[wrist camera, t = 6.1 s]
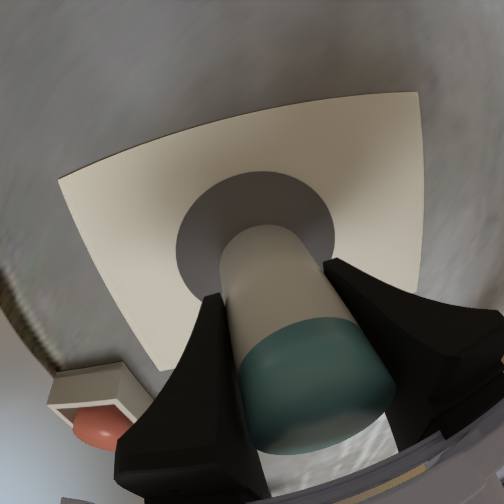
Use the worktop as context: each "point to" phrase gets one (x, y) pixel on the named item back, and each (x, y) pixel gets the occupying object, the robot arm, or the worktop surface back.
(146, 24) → the worktop surface
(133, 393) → the button housing
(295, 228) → the paper sheet
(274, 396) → the marker
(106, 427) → the button
